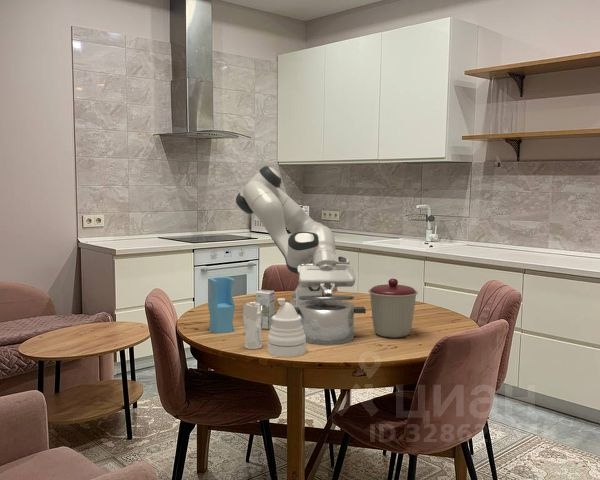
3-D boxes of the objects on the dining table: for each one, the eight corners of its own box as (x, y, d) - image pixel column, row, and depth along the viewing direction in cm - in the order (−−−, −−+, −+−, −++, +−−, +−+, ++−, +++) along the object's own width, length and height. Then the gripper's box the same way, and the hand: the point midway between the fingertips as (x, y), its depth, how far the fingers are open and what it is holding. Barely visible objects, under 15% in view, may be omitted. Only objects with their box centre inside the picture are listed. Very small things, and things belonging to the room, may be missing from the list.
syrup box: (275, 326, 231) (274, 290, 230) (269, 330, 226) (269, 292, 224) (261, 325, 233) (261, 289, 232) (255, 328, 228) (255, 291, 226)
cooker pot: (286, 329, 226) (286, 298, 225) (358, 328, 228) (359, 298, 227) (289, 345, 205) (289, 311, 204) (369, 344, 207) (369, 310, 206)
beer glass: (243, 344, 206) (242, 302, 205) (263, 343, 207) (263, 301, 205) (243, 349, 199) (242, 306, 198) (263, 349, 200) (263, 305, 198)
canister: (365, 328, 229) (366, 274, 227) (412, 328, 228) (413, 274, 226) (369, 340, 211) (370, 282, 209) (420, 341, 211) (422, 283, 208)
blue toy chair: (215, 333, 220) (214, 280, 218) (208, 329, 227) (207, 277, 225) (235, 331, 224) (234, 279, 222) (227, 326, 231) (227, 276, 229)
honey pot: (275, 359, 189) (275, 303, 188) (262, 348, 201) (261, 296, 199) (312, 354, 194) (312, 300, 193) (296, 344, 206) (296, 293, 204)
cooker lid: (297, 298, 224) (297, 290, 224) (349, 297, 225) (349, 289, 225) (301, 300, 204) (301, 292, 204) (358, 300, 205) (358, 291, 205)
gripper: (297, 258, 213) (299, 290, 204) (353, 258, 215) (357, 290, 206) (296, 269, 218) (298, 300, 209) (351, 268, 219) (355, 300, 211)
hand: (328, 295), depth 208 cm, fingers closed
